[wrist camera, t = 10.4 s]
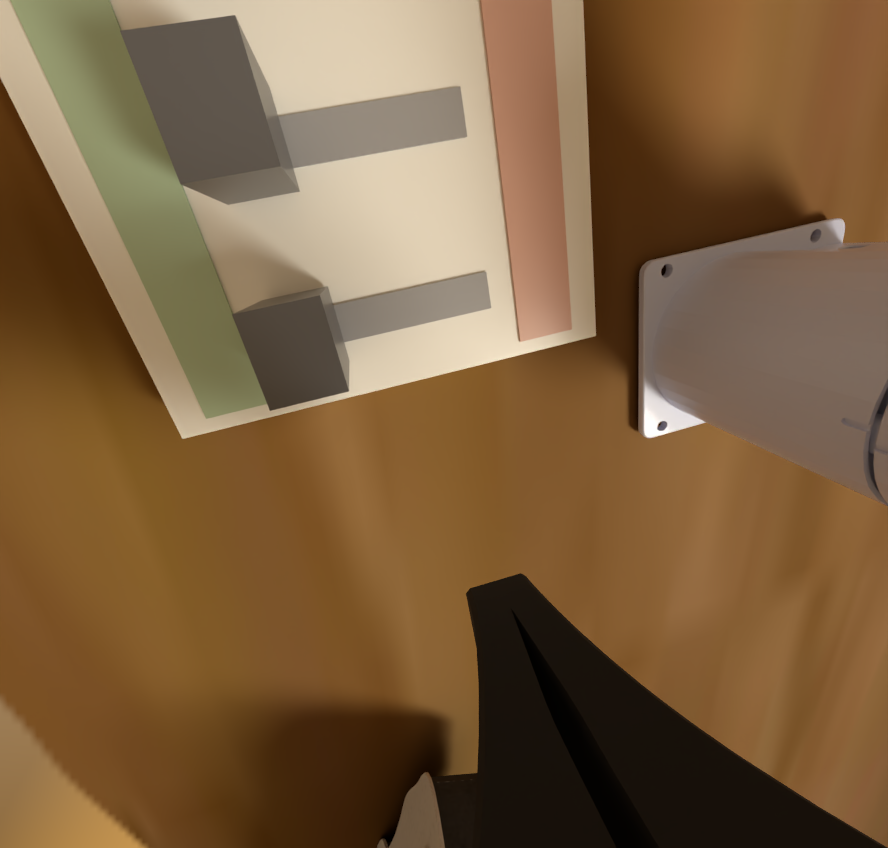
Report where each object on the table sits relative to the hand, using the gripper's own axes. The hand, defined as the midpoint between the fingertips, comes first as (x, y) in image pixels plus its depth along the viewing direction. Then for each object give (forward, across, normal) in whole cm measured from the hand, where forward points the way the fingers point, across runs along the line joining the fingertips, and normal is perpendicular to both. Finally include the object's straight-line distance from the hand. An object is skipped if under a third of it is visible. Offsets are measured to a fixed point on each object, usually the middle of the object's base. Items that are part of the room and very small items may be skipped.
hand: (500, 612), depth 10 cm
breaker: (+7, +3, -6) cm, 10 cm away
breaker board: (+9, +1, -11) cm, 15 cm away
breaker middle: (+7, +3, -11) cm, 14 cm away
